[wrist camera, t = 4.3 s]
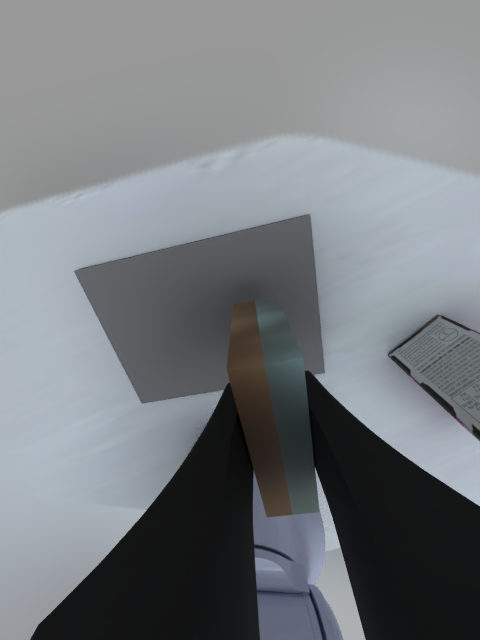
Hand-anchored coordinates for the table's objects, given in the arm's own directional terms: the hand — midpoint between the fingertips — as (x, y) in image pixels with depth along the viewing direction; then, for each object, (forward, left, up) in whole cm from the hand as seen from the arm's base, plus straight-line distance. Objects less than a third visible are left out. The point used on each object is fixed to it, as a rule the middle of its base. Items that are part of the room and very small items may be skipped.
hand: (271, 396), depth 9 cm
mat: (+3, +2, -9) cm, 9 cm away
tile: (0, 0, -3) cm, 3 cm away
